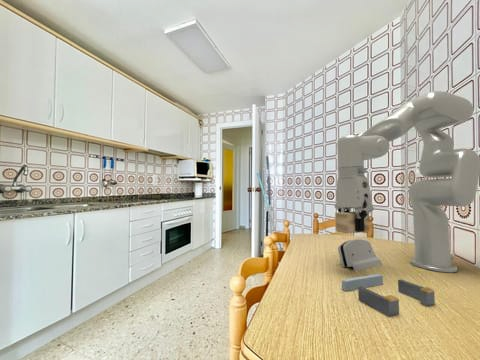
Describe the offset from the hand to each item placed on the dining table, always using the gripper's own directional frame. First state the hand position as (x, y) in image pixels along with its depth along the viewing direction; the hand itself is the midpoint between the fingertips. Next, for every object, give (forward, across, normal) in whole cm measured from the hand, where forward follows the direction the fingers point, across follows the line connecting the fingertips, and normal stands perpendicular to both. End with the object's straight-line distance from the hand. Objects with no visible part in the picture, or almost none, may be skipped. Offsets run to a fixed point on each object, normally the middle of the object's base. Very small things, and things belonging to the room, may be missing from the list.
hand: (353, 229), depth 67 cm
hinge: (+15, +7, -10) cm, 19 cm away
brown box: (+1, 0, 0) cm, 1 cm away
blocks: (+14, -15, +6) cm, 22 cm away
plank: (+14, -7, +6) cm, 17 cm away
